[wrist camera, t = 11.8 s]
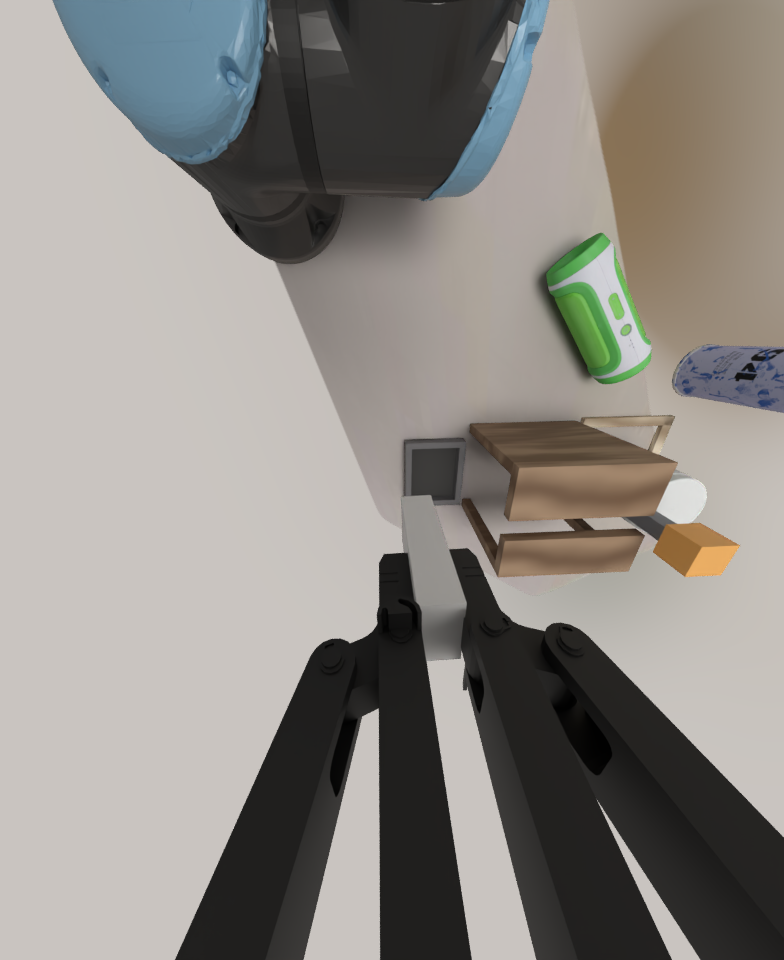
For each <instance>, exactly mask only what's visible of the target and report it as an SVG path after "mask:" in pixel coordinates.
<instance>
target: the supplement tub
mask: <svg viewBox="0 0 784 960" xmlns="http://www.w3.org/2000/svg"><path fill="white" fill-rule="evenodd" d="M706 499H707V491H706V488H705V486H704V485H703V484H702V483H701V482H700V481H698V480H696V479H694V478H692V477H691V476H689V475H687V474H685V473H682V472H680V471H678V470H675V471H674V473H673V475H672V477H671V479H670V482H669V484H668V486H667V488H666V490H665V493H664V495H663V497H662V499H661V501H660V503H659V506H658V508H657V510H656V511H657V512H659V513H660V514H662V515H663V516H665V517H667V518H668V519H670V520H672V521H673V522H675V523H677V524H687V523H691V522H692V521H693V520H694V519H695V518H696V517H697V516H698V515H699V514H700V512H701V511H702V509H703V507H704V505H705V503H706ZM622 518H623V519H624V520H626V521H627V522H629V523H630V524H632V525H633V526H635V527H636V528H638V529H640V530H642V529H641V528H640V527H638V526H637V525H636V524H634V523H633V522H631V521H630V520H629V519H627V518H626V517H622ZM642 531H644V530H642ZM644 532H645V531H644ZM645 533H647V532H645ZM647 534H648V533H647Z"/></svg>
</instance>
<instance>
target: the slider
mask: <svg viewBox="0 0 784 960" xmlns="http://www.w3.org/2000/svg"><path fill="white" fill-rule="evenodd" d="M626 518H627V519H629V520H630V521H631V522H633V523H634V524H636V525H637V526H638V527H640V528H641V529H642V530H644V531H645V532H647V533H648V534H649V535H651V536H652V537H654V538H655V539H656V540H658V542H657V544H656V546H655V548H654V551H653V553H655V554H656V555H657V556H659V557H660V558H661V559H662V560H664V561H665V562H666V563H668V564H669V565H670V566H671V567H673V568H674V569H675V570H677V571H678V572H679V573H681V574H682V575H683V576H685V577H692V576H711V575H712V576H713V575H721V574H722V572H723V571H724V569H725V568H726V566H727V565H728V563H729V562H730V560H731V559H732V557H733V555H734V554H735V552H736V551H737V549H738V548H739V546H740V545H738V544H736V543H735V542H733V541H731V540H729V539H728V538H726V537H724V536H722V535H721V534H719V533H717V532H715V531H713V530H711V529H710V528H708V527H706V526H704V525H703V524H701V523H687V524H677V523H675V522H673V521H672V520H670V519H668V518H667V517H665V516H663V515H662V514H660V513H659V512H657V511H656V512H655V514H654V516H631V517H626Z"/></svg>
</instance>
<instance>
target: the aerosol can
mask: <svg viewBox="0 0 784 960" xmlns="http://www.w3.org/2000/svg"><path fill="white" fill-rule="evenodd" d="M672 384H673V389H674V390H675V392H676V393H678V394H679V395H681V396H686V397H698V398H703V399H709V400H714V401H720V402H725V403H731V404H737V405H743V406H748V407H753V408H759V409H765V410H770V411H776V412H782V413H784V347H756V346H754V347H753V346H719V345H712V344H707V345H703V346H699V347H698V348H696V349H694V350H692V351H691V352H689V353H688V354H687V355H686V356H685V357H684V358H683V359H682V360H681V361H680V363H679V364H678V365H677V368H676V370H675V372H674V374H673V379H672Z"/></svg>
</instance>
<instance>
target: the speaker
mask: <svg viewBox="0 0 784 960" xmlns="http://www.w3.org/2000/svg"><path fill="white" fill-rule="evenodd" d="M546 277H547V284H548V288H549V292H550V294H552V295H553V296H554V297H555V301H556V303H557V305H558V308H559V310H560V312H561V314H562V316H563V318H564V320H565V322H566V324H567V326H568V328H569V330H570V332H571V334H572V336H573V338H574V340H575V342H576V344H577V346H578V348H579V350H580V352H581V354H582V357H583V359H584V361H585V363H586V365H587V366H588V372H589V373H590V374H591V375H592V377H593V378H594V379H595V380H597V381H598V382H599V383H602V384H612V383H617V382H620V381H623V380H625V379H628V378H630V377H632V376H634V375H636V374H637V373H639V372H640V371H641V370H643V369H644V368H645V367H646V366H647V365H648V363H649V362H650V359H651V343H650V340H649V339H647V338H646V337H645V335H646V334H645V331H644V328H643V326H642V323H641V320H640V318H639V315H638V313H637V310H636V307H635V305H634V302H633V300H632V297H631V295H630V292H629V289H628V287H627V284H626V282H625V279H624V276H623V274H622V271H621V268H620V266H619V263H618V261H617V259H616V253H615V247H614V246H613V244H612V243H611V241H610V240H609V239H608V238H607V237H606V236H605V235H604V234H603V233H599V234H596V235H594V236H593V237H591V238H589V239H588V240H586V241H584V242H583V243H581V244H580V245H578V246H577V247H576V248H574V249H573V250H572V251H570V252H569V253H568V254H566V255H565V256H564V257H563V258H561V259H560V260H559V261H558V262H557V263H556V264H555V265H554V266H553V267H552V268H551V269H550V270H549V271H548V272H547V274H546Z"/></svg>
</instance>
